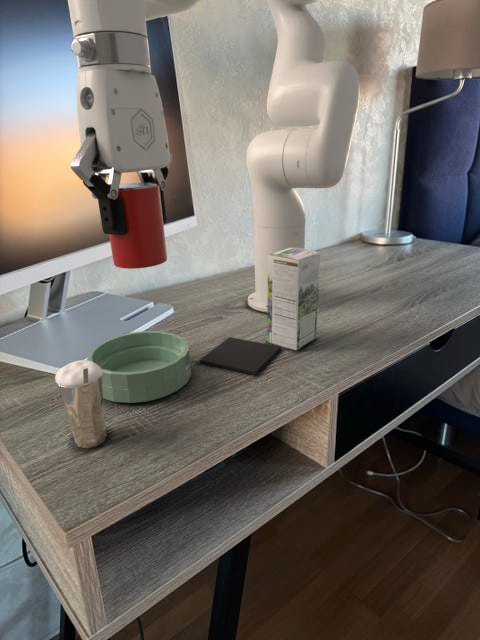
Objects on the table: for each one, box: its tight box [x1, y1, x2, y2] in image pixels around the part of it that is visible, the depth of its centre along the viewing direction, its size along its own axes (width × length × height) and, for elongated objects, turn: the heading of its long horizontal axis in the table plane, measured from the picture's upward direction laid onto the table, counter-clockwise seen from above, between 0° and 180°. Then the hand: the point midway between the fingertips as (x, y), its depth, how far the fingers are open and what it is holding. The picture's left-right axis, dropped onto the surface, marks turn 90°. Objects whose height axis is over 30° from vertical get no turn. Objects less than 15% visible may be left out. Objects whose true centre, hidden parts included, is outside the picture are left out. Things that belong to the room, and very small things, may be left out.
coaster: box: [199, 337, 282, 376], centre depth 67 cm, size 9×9×1 cm
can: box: [108, 182, 168, 270], centre depth 54 cm, size 7×7×9 cm
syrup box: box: [266, 248, 321, 351], centre depth 68 cm, size 6×6×14 cm
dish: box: [86, 330, 192, 404], centre depth 60 cm, size 13×13×4 cm
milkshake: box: [54, 359, 108, 449], centre depth 47 cm, size 4×5×10 cm
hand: (136, 226), depth 54 cm, fingers closed on can, 6 cm apart
